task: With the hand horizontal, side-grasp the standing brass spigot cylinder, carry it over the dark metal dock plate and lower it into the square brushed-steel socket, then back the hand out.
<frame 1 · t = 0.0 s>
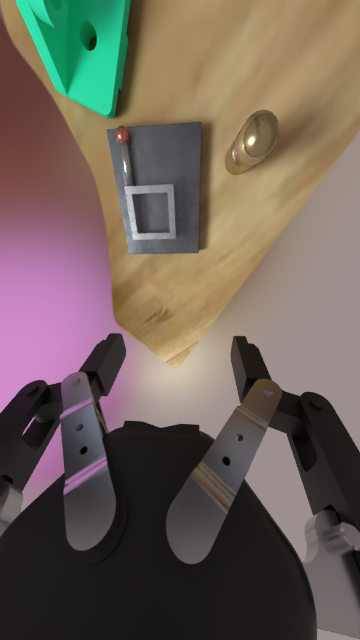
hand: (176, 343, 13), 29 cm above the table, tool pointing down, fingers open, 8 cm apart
dock: (160, 199, 33), on the table
spigot: (237, 159, 29), on the table
camera mount: (98, 51, 25), on the table
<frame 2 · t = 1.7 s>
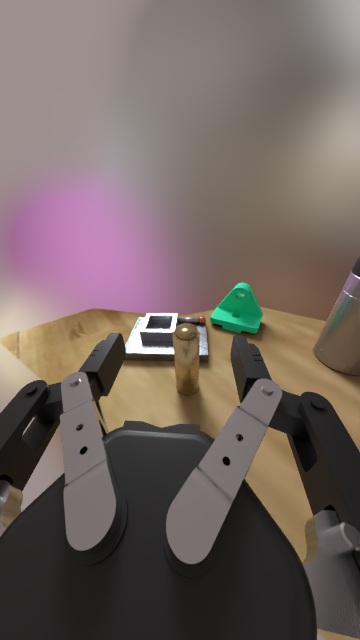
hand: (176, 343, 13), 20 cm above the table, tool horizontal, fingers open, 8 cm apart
dock: (168, 339, 44), on the table
spigot: (187, 385, 33), on the table
camera mount: (234, 324, 49), on the table
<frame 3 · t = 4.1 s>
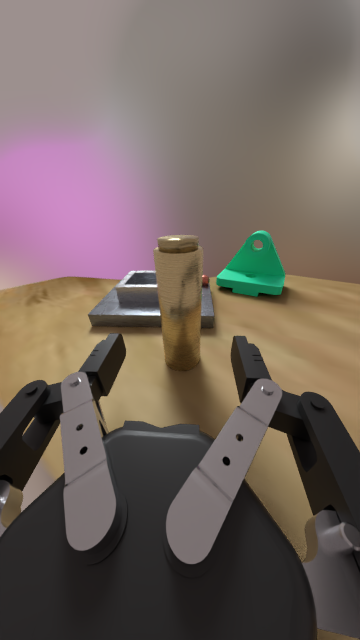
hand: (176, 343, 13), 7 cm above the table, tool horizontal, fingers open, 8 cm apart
dock: (159, 304, 32), on the table
spigot: (182, 357, 21), on the table
camera mount: (248, 289, 38), on the table
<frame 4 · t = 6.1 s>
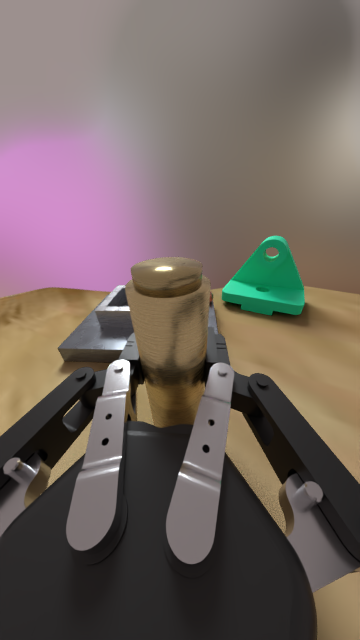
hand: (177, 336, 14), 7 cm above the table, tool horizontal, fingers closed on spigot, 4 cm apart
dock: (151, 327, 26), on the table
spigot: (178, 419, 15), on the table, touching gripper
camera mount: (259, 304, 32), on the table
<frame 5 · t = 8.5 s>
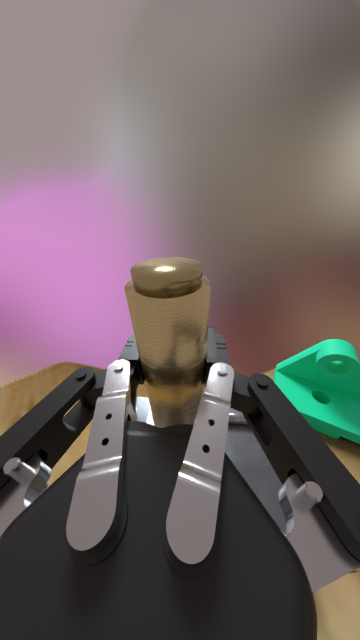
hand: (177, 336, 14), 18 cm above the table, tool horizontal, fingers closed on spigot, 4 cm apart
dock: (195, 464, 22), on the table
spigot: (178, 419, 15), point 11 cm above the table, touching gripper
camera mount: (313, 408, 27), on the table
when the fingers open (10 cm above the table, at t = 10.9 s): spigot drops 1 cm, resting on dock.
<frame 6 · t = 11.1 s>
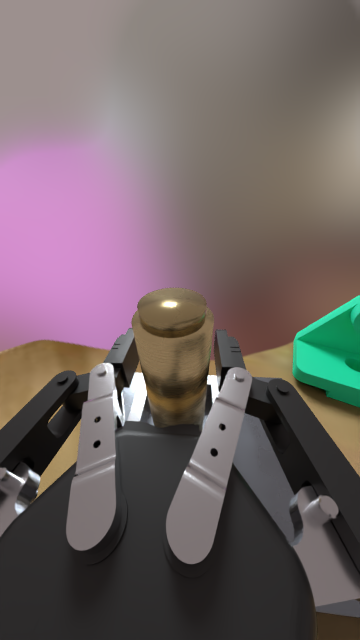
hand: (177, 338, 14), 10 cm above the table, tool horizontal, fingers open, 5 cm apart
dock: (201, 453, 16), on the table
spigot: (179, 429, 16), point 2 cm above the table, touching dock
camera mount: (345, 381, 22), on the table
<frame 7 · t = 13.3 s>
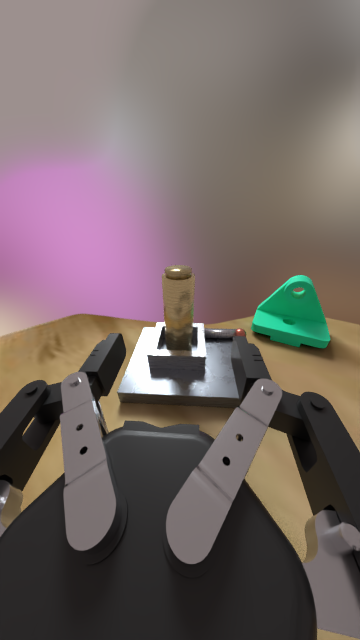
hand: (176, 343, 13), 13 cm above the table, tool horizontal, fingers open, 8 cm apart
dock: (191, 364, 29), on the table
spigot: (179, 350, 28), point 2 cm above the table, touching dock
camera mount: (284, 333, 35), on the table
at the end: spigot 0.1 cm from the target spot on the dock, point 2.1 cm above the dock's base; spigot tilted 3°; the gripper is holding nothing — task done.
